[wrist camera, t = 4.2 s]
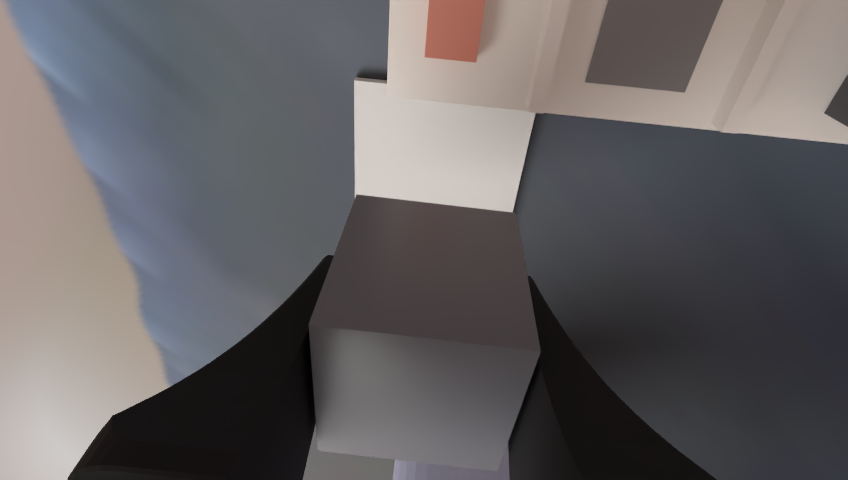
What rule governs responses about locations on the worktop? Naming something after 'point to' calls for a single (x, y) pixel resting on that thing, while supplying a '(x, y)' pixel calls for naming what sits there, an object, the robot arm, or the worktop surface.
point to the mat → (437, 149)
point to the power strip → (633, 61)
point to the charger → (423, 334)
